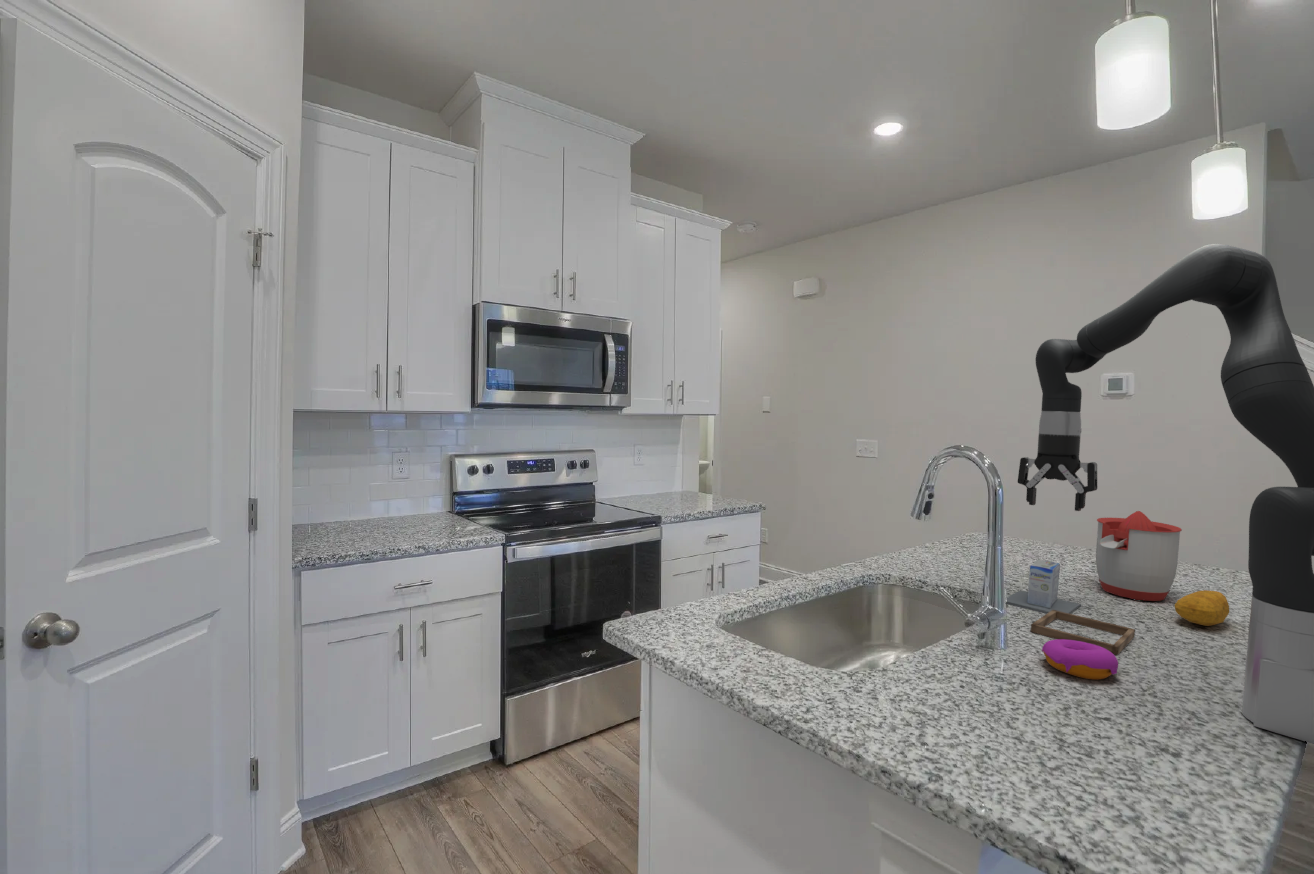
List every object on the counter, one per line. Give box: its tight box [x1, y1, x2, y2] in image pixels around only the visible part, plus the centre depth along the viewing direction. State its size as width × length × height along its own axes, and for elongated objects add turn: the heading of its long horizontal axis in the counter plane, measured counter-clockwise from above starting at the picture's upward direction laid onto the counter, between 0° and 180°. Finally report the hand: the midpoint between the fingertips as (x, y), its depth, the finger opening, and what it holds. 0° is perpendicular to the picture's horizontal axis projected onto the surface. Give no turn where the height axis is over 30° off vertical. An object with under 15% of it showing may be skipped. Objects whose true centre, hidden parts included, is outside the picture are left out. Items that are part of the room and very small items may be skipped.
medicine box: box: [1027, 558, 1061, 608], centre depth 133 cm, size 8×4×9 cm, turn 137°
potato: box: [1173, 589, 1230, 627], centre depth 124 cm, size 8×14×7 cm, turn 123°
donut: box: [1041, 639, 1119, 681], centre depth 100 cm, size 10×10×4 cm
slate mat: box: [1006, 589, 1082, 615], centre depth 133 cm, size 12×12×1 cm
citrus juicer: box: [1095, 510, 1183, 602], centre depth 142 cm, size 16×17×20 cm
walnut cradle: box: [1030, 610, 1136, 656], centre depth 116 cm, size 14×14×2 cm
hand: (1054, 507), depth 130 cm, fingers open, 8 cm apart
